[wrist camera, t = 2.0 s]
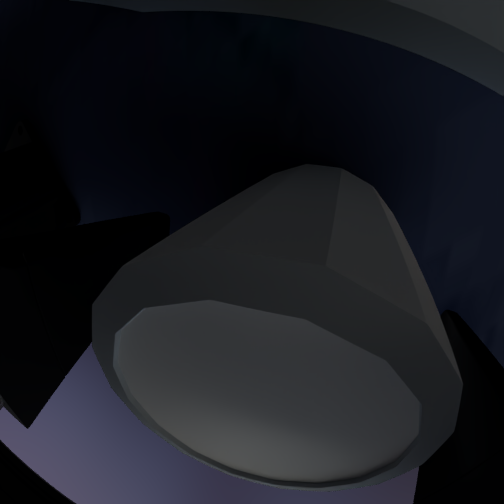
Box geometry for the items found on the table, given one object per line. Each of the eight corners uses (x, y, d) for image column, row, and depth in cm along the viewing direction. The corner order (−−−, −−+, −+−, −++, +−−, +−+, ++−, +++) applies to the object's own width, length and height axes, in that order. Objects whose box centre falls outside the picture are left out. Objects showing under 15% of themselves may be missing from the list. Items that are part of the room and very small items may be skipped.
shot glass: (415, 138, 8) (528, 244, 2) (408, 324, 11) (410, 500, 5) (203, 157, 10) (33, 255, 5) (242, 320, 13) (164, 462, 7)
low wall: (586, 122, 5) (657, 149, 2) (579, 151, 5) (649, 189, 2) (149, -16, 8) (67, -38, 4) (143, 12, 8) (57, -1, 5)
